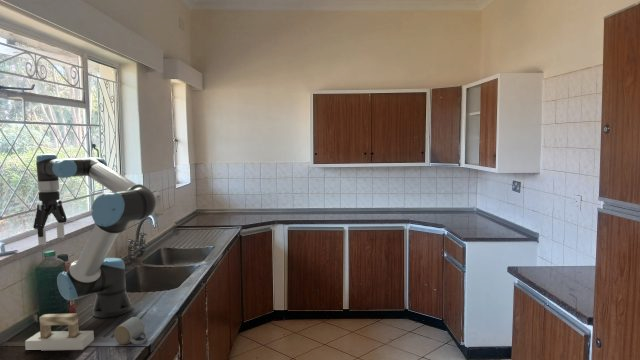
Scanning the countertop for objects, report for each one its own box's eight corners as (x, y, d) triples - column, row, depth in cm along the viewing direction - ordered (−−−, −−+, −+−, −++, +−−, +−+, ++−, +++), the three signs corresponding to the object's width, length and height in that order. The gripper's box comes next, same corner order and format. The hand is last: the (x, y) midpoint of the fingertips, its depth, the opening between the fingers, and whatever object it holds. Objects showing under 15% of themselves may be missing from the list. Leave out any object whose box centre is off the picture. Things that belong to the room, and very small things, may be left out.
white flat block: (94, 339, 167) (93, 330, 166) (82, 349, 159) (81, 340, 158) (39, 340, 167) (39, 331, 166) (25, 350, 159) (25, 341, 158)
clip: (79, 343, 164) (77, 313, 163) (75, 346, 161) (73, 316, 160) (46, 343, 164) (44, 314, 163) (41, 347, 161) (39, 317, 160)
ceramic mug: (112, 344, 162) (111, 323, 162) (128, 335, 170) (127, 315, 169) (137, 348, 159) (136, 327, 158) (152, 338, 167) (151, 318, 166)
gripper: (56, 188, 202) (59, 235, 204) (20, 194, 177) (24, 247, 179) (73, 187, 202) (76, 234, 204) (40, 194, 177) (43, 247, 179)
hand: (52, 241), depth 191 cm, fingers open, 13 cm apart
